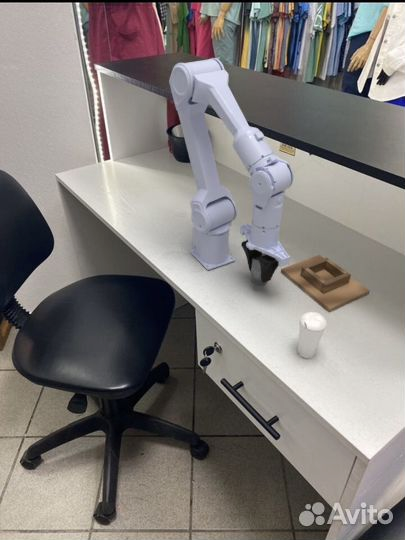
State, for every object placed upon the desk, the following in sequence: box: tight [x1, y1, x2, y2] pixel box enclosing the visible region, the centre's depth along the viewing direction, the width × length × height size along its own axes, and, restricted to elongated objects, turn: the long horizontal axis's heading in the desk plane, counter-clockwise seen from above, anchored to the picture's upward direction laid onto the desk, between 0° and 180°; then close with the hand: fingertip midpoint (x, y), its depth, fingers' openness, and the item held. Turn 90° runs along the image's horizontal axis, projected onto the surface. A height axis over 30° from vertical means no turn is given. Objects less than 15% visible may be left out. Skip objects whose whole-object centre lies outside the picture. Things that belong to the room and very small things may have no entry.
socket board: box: [280, 254, 371, 313], centre depth 89 cm, size 16×12×4 cm
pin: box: [249, 253, 269, 287], centre depth 85 cm, size 4×4×6 cm
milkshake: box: [297, 311, 328, 360], centre depth 70 cm, size 4×5×10 cm
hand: (259, 275), depth 86 cm, fingers closed on pin, 4 cm apart
